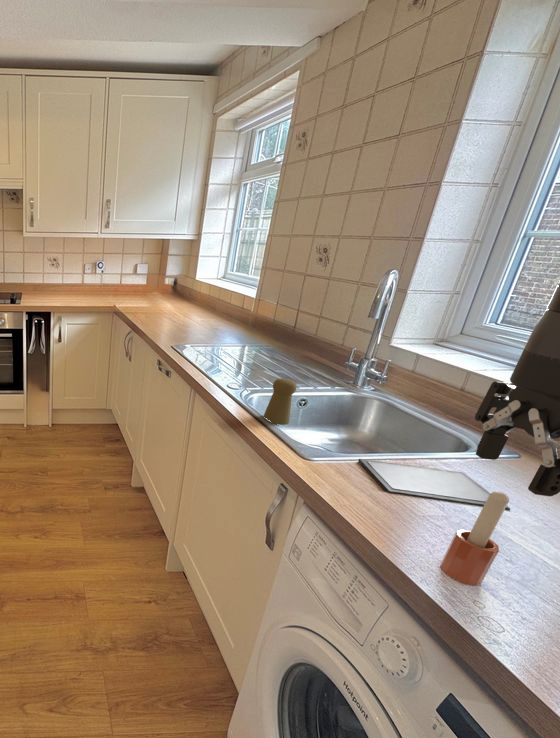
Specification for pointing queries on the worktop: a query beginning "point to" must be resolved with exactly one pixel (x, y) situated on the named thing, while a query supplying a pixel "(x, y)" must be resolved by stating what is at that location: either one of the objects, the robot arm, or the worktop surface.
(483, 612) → the worktop surface
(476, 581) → the pen cup
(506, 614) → the worktop surface
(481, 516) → the beige wooden rod
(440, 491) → the tablet
